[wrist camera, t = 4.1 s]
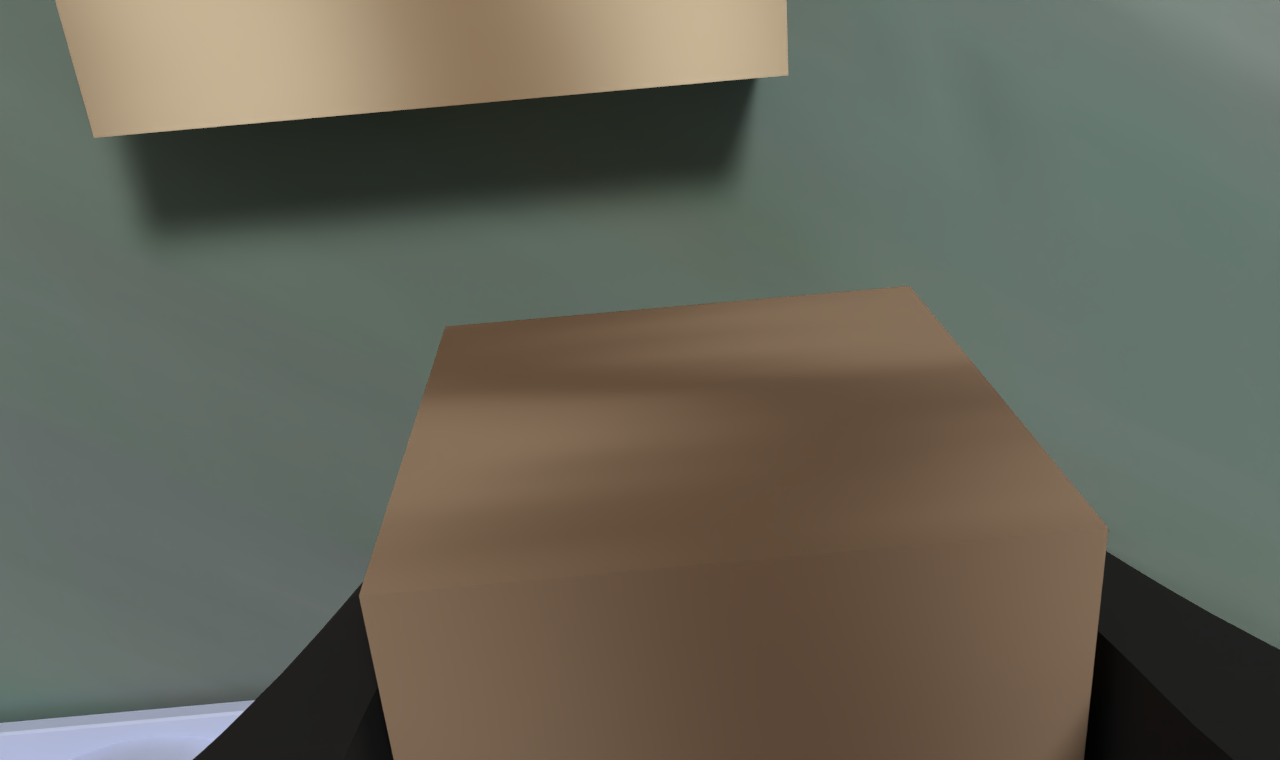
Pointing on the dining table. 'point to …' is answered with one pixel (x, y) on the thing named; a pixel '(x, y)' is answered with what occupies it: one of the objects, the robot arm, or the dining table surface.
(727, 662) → the walnut cube
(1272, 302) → the dining table surface
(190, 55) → the oak block
